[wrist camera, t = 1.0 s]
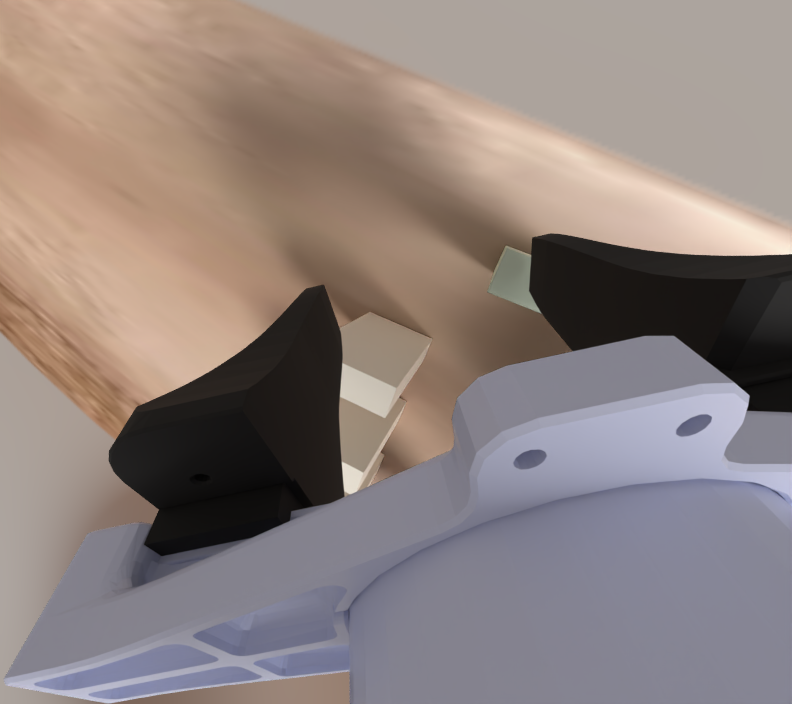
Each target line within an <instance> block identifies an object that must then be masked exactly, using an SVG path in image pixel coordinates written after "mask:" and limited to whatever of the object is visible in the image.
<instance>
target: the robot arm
mask: <svg viewBox="0 0 792 704" xmlns="http://www.w3.org/2000/svg"><path fill="white" fill-rule="evenodd" d="M529 292H530V294H531V296H532V298H533V300H534V302H535V303H536V305H537V307H538V308H539V310H540V312H541V313H542V314H543V316H544V317H545V318H546V319H547V321H548V322H549V323H550V324H551V326H552V327H553V328H554V329H555V330H556V332H557V333H558V334H559V335H560V336H561V338H562V339H563V340H564V341H565V342H566V344H567V345H568V346H569V347H570V348H571V350H572V351H573V352H568V353H563V354H559V355H554V356H550V357H545V358H540V359H536V360H531V361H526V362H522V363H517V364H512V365H508V366H505V367H502V368H500V369H497V370H495V371H492V372H490V373H488V374H485V375H483V376H480V377H478V378H477V379H476V380H475V381H474V382H473V383H472V384H471V385H470V386H469V387H468V388H467V389H466V390H465V391H464V392H463V393H462V394H461V395H460V396H459V397H458V398H457V401H456V405H455V408H454V412H453V416H452V424H453V431H454V447H453V449H452V450H450V451H448V452H446V453H443V454H441V455H439V456H436V457H434V458H432V459H430V460H427V461H425V462H423V463H421V464H418V465H416V466H414V467H411V468H409V469H407V470H405V471H402V472H400V473H398V474H396V475H393V476H391V477H389V478H386V479H384V480H382V481H380V482H377V483H375V484H373V485H371V486H368V487H366V488H364V489H361V490H359V491H357V492H355V493H352V494H350V495H348V496H346V497H345V495H344V484H343V472H342V459H341V444H340V424H339V403H340V389H341V376H342V361H343V350H342V338H341V331H340V328H339V326H338V323H337V320H336V317H335V314H334V311H333V309H332V306H331V303H330V300H329V297H328V295H327V292H326V289H325V286H324V285H320V286H316V287H311V288H307V289H306V290H304V291H303V292H302V293H301V294H300V295H299V296H298V297H297V299H296V300H295V301H294V302H293V303H292V304H291V305H290V306H289V307H288V309H287V310H286V311H285V312H284V313H283V314H282V315H281V316H280V317H279V318H278V319H277V320H276V321H275V322H274V323H273V324H272V325H271V326H270V327H269V328H268V329H267V330H266V331H265V332H264V333H263V334H262V335H261V336H259V337H258V338H257V339H256V340H255V341H253V342H252V343H251V344H250V345H248V346H247V347H246V348H245V349H243V350H242V351H241V352H239V353H238V354H236V355H235V356H233V357H232V358H230V359H229V360H227V361H226V362H224V363H223V364H221V365H220V366H218V367H217V368H215V369H213V370H212V371H210V372H208V373H206V374H205V375H203V376H201V377H199V378H197V379H196V380H194V381H192V382H190V383H188V384H186V385H184V386H182V387H180V388H178V389H176V390H174V391H172V392H169V393H167V394H165V395H163V396H160V397H158V398H156V399H154V400H151V401H149V402H147V403H145V404H142V405H140V406H137V407H136V409H135V410H134V412H133V413H132V415H131V417H130V418H129V420H128V421H127V423H126V425H125V426H124V428H123V429H122V431H121V433H120V434H119V436H118V437H117V439H116V440H115V442H114V444H113V445H112V447H111V449H110V450H109V462H110V464H111V467H112V469H113V471H114V472H115V474H116V475H117V476H118V477H119V478H120V479H121V480H122V481H123V482H124V483H125V484H127V485H128V486H129V487H131V488H132V489H133V490H134V491H136V492H137V493H139V494H140V495H141V496H142V497H144V498H145V499H146V500H148V501H149V502H150V503H151V504H153V505H154V506H155V507H156V508H158V509H159V511H158V513H157V516H156V518H155V520H154V523H153V525H152V524H149V523H142V522H139V523H130V524H125V525H120V526H115V527H110V528H106V529H101V530H96V531H93V532H90V533H88V534H87V536H86V537H85V539H84V541H83V543H82V544H81V546H80V548H79V549H78V551H77V553H76V555H75V556H74V558H73V560H72V562H71V563H70V565H69V567H68V568H67V570H66V572H65V574H64V575H63V577H62V579H61V581H60V583H59V584H58V586H57V588H56V589H55V591H54V593H53V595H52V596H51V598H50V600H49V601H48V603H47V605H46V607H45V609H44V610H43V612H42V614H41V615H40V617H39V619H38V621H37V622H36V624H35V626H34V627H33V629H32V631H31V633H30V635H29V636H28V638H27V640H26V641H25V643H24V645H23V647H22V648H21V650H20V652H19V654H18V655H17V657H16V659H15V661H14V662H13V664H12V666H11V667H10V669H9V671H8V673H7V674H6V676H5V678H4V682H5V685H7V686H13V687H19V688H24V689H30V690H36V691H41V692H47V693H52V694H59V695H64V696H69V697H75V698H80V699H86V700H92V701H98V702H103V703H114V702H119V701H125V700H131V699H136V698H142V697H147V696H153V695H160V694H166V693H173V692H180V691H186V690H193V689H201V688H209V687H217V686H225V685H233V684H242V683H250V682H260V681H269V680H277V679H287V678H295V677H304V676H313V675H322V674H331V673H339V672H348V671H350V704H792V254H789V255H762V256H711V255H688V254H675V253H665V252H655V251H647V250H640V249H634V248H628V247H622V246H617V245H612V244H607V243H602V242H597V241H593V240H588V239H583V238H578V237H574V236H568V235H562V234H546V235H542V236H538V237H533V238H532V251H531V266H530V282H529Z"/></svg>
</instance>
